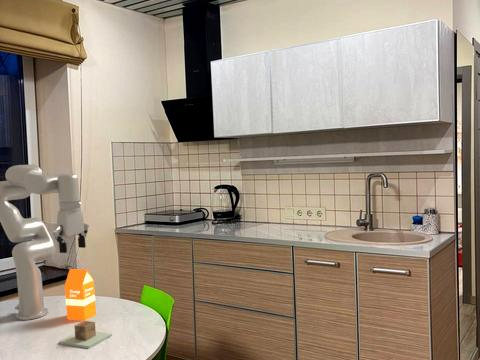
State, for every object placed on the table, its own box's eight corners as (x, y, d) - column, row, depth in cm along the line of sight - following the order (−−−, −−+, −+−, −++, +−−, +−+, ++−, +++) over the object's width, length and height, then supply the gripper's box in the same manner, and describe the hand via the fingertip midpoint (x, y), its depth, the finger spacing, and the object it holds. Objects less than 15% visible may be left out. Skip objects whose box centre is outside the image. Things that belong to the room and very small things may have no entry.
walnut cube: (75, 339, 174) (74, 325, 174) (85, 334, 179) (84, 320, 179) (86, 340, 172) (85, 326, 172) (95, 335, 177) (94, 322, 177)
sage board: (58, 343, 173) (58, 341, 173) (83, 331, 184) (82, 329, 184) (88, 348, 167) (88, 346, 167) (112, 335, 178) (112, 333, 178)
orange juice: (85, 320, 196) (81, 272, 195) (66, 319, 199) (63, 271, 198) (96, 314, 204) (93, 267, 203) (79, 313, 207) (75, 266, 205)
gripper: (78, 203, 197) (81, 245, 198) (44, 209, 181) (48, 254, 182) (93, 203, 193) (96, 245, 195) (59, 209, 178) (63, 255, 179)
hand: (73, 250), depth 188 cm, fingers open, 9 cm apart
